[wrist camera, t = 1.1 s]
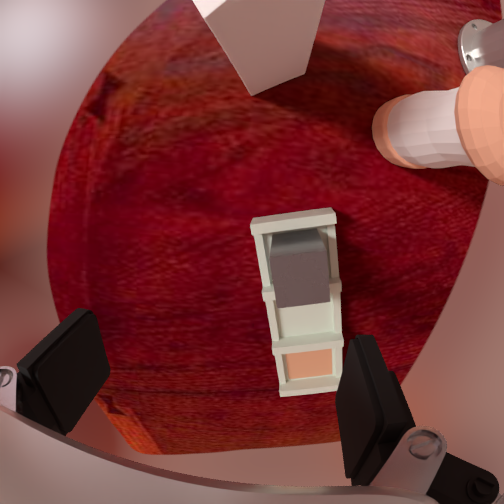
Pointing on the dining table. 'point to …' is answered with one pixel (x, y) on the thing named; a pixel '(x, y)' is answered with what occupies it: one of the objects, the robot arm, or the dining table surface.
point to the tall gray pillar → (299, 268)
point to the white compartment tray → (303, 310)
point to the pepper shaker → (447, 126)
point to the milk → (264, 37)
